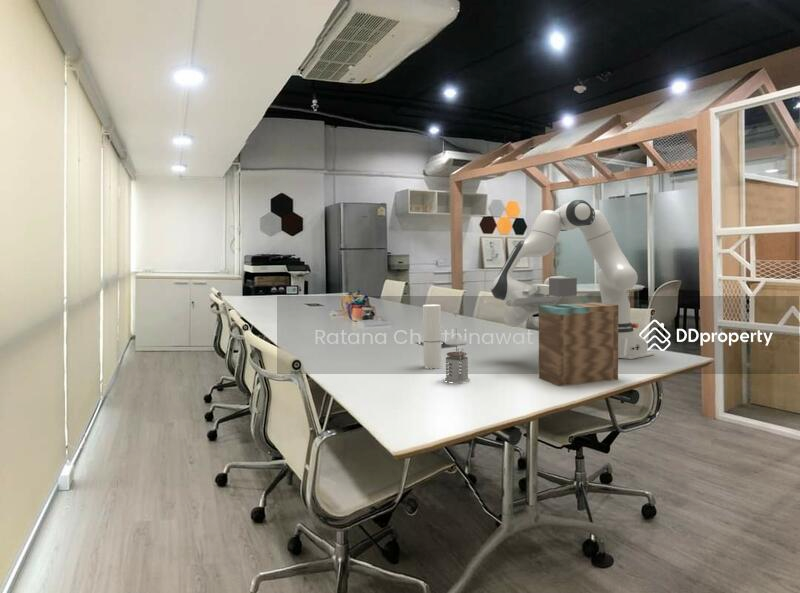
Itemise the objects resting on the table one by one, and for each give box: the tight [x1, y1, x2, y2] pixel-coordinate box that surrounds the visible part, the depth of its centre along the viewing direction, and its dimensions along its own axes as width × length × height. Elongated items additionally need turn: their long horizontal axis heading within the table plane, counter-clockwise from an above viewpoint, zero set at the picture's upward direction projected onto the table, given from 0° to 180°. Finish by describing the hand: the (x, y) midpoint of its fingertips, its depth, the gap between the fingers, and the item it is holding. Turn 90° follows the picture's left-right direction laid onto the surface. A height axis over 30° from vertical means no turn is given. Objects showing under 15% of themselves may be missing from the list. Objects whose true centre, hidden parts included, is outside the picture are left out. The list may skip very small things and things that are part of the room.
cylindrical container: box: [422, 303, 443, 369], centre depth 211 cm, size 7×7×25 cm
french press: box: [444, 310, 471, 384], centre depth 187 cm, size 10×12×25 cm
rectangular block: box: [530, 277, 578, 298], centre depth 189 cm, size 7×20×6 cm, turn 17°
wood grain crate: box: [538, 301, 619, 387], centre depth 185 cm, size 24×12×26 cm, turn 107°
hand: (544, 287), depth 193 cm, fingers closed on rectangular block, 4 cm apart
